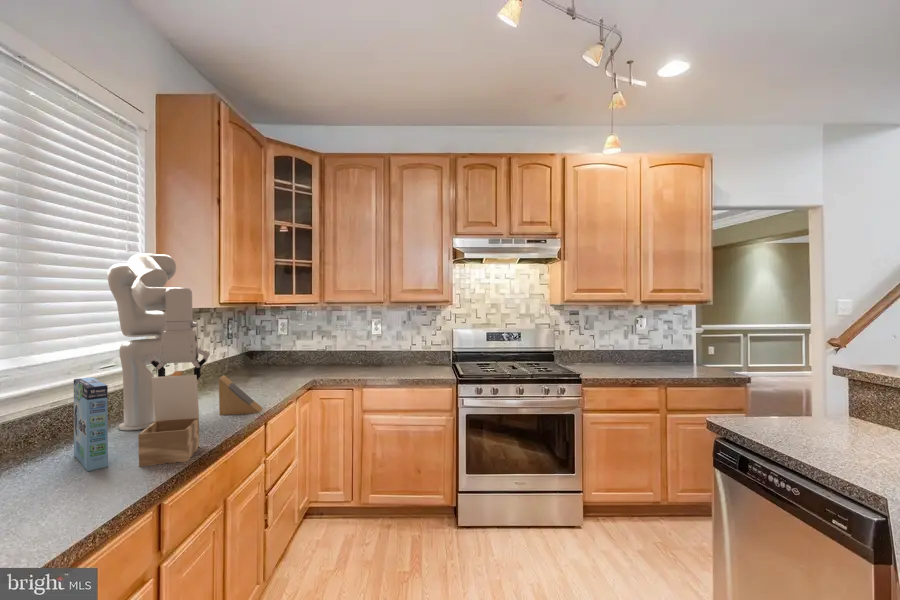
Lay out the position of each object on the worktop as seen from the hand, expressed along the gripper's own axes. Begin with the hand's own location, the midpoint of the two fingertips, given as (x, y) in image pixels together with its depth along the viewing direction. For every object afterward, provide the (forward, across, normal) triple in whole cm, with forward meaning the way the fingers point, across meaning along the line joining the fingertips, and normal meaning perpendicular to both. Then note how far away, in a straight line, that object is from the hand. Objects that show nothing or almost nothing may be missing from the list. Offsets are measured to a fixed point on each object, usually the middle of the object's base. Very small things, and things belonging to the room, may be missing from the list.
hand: (179, 380), depth 148 cm
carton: (+20, 0, +11) cm, 23 cm away
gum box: (+21, +21, +9) cm, 31 cm away
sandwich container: (+21, -12, -41) cm, 48 cm away
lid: (+5, 0, +5) cm, 7 cm away
